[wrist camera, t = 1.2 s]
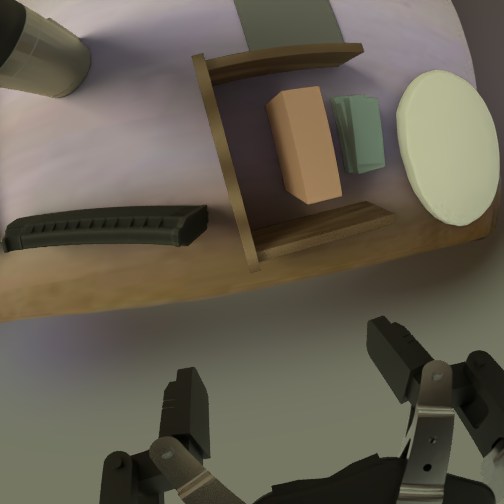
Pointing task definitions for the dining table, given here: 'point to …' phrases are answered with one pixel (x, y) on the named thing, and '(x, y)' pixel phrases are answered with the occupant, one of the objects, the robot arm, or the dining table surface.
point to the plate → (448, 147)
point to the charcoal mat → (287, 23)
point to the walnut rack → (254, 242)
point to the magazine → (108, 227)
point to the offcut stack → (359, 132)
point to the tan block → (304, 144)
